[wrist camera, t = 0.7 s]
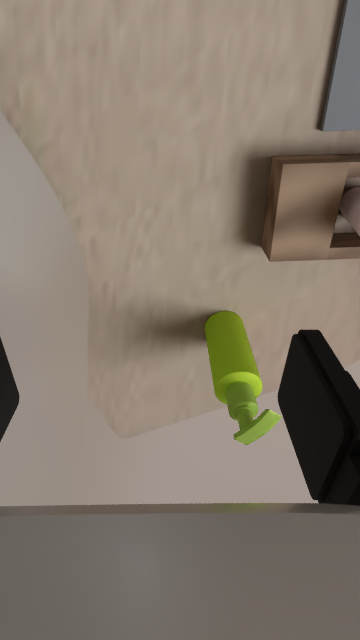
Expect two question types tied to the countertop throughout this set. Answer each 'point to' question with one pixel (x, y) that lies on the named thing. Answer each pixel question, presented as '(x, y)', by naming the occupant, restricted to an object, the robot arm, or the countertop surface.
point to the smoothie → (351, 207)
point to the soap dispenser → (236, 375)
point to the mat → (345, 74)
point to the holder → (308, 208)
